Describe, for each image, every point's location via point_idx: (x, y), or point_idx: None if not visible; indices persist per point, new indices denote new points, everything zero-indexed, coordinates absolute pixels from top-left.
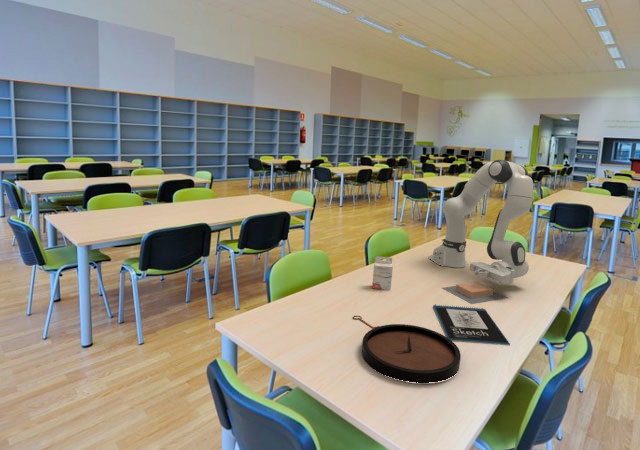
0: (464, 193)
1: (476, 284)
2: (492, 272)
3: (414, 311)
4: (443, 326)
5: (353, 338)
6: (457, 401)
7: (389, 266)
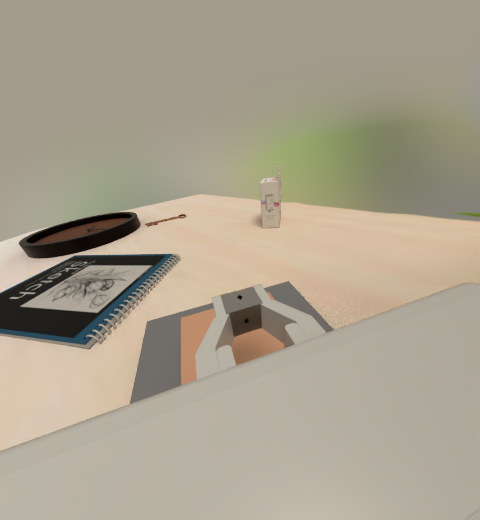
0: None
1: None
2: (123, 406)
3: (175, 242)
4: (104, 255)
5: (147, 217)
6: (8, 249)
7: (260, 182)
